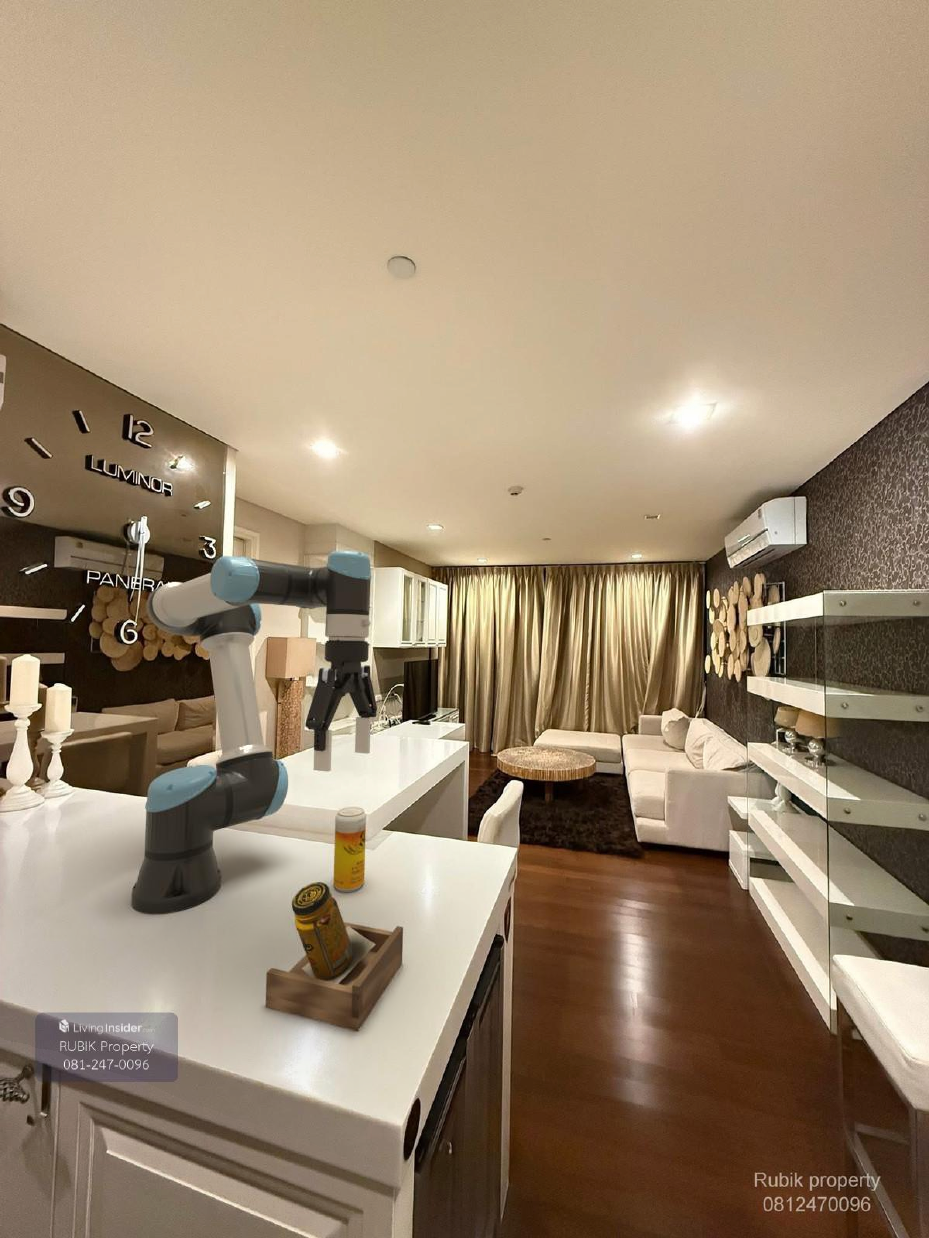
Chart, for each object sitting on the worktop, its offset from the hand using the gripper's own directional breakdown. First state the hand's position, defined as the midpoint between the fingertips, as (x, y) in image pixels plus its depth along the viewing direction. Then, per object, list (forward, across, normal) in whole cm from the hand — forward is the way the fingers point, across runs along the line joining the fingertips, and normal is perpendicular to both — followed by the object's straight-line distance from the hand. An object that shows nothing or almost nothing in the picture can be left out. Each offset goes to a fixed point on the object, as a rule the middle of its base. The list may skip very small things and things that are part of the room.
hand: (343, 761), depth 87 cm
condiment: (+26, -11, -7) cm, 29 cm away
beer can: (+29, +14, +6) cm, 33 cm away
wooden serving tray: (+29, -12, -7) cm, 32 cm away
